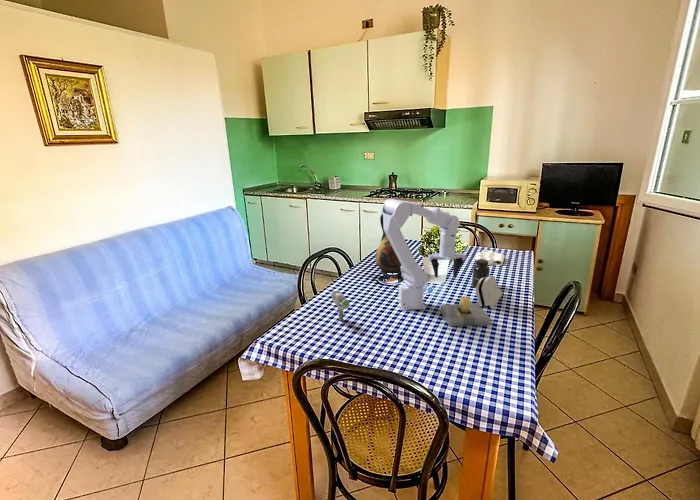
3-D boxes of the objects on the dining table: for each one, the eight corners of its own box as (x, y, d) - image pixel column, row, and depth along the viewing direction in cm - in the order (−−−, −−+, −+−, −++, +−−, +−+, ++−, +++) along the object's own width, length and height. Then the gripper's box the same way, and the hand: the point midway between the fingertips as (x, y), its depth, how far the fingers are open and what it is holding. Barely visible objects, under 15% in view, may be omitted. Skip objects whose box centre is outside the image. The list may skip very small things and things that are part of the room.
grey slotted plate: (449, 326, 129) (449, 318, 128) (440, 311, 139) (440, 304, 138) (488, 324, 129) (489, 317, 128) (476, 310, 140) (477, 303, 139)
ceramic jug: (411, 270, 182) (413, 210, 173) (398, 280, 170) (400, 217, 161) (381, 264, 191) (382, 207, 182) (366, 273, 178) (366, 213, 169)
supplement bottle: (471, 288, 160) (473, 262, 156) (472, 282, 166) (474, 257, 162) (487, 290, 157) (490, 264, 154) (488, 284, 163) (491, 259, 160)
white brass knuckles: (501, 268, 183) (471, 264, 189) (504, 258, 198) (476, 254, 204) (502, 262, 182) (471, 258, 188) (505, 252, 197) (477, 248, 203)
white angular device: (492, 309, 141) (485, 284, 140) (479, 310, 144) (473, 286, 142) (502, 293, 154) (496, 271, 153) (491, 295, 157) (485, 273, 156)
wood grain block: (461, 320, 133) (463, 300, 130) (459, 316, 136) (460, 296, 133) (468, 320, 133) (470, 300, 130) (465, 315, 136) (467, 296, 133)
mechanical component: (343, 327, 130) (343, 301, 127) (331, 315, 138) (330, 291, 135) (351, 325, 131) (350, 299, 128) (338, 313, 140) (337, 289, 136)
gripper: (431, 247, 140) (430, 280, 144) (469, 246, 141) (466, 279, 145) (427, 242, 147) (425, 274, 151) (462, 241, 148) (460, 272, 152)
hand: (445, 276), depth 149 cm, fingers open, 7 cm apart
